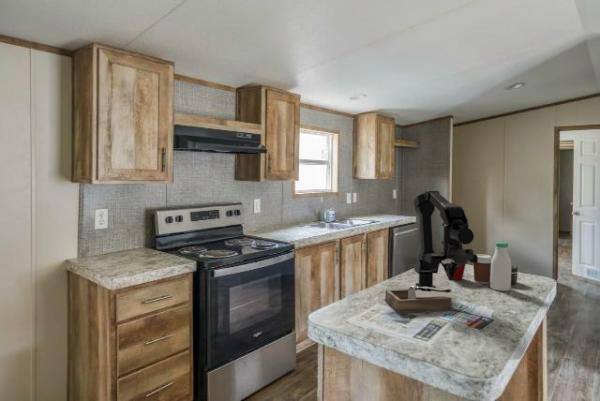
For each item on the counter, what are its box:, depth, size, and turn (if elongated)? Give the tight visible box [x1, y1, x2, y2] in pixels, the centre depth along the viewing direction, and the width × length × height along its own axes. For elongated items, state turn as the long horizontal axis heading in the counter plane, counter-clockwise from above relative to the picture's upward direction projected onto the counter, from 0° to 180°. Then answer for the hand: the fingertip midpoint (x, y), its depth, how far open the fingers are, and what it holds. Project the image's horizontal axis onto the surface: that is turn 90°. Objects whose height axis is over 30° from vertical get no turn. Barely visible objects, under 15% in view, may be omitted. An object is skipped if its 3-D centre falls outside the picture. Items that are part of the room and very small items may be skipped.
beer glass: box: [407, 285, 454, 304], centre depth 139 cm, size 7×7×15 cm
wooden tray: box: [384, 288, 453, 315], centre depth 140 cm, size 14×20×4 cm
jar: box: [511, 264, 519, 286], centre depth 170 cm, size 10×10×8 cm
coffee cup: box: [472, 253, 492, 285], centre depth 170 cm, size 9×9×12 cm
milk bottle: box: [489, 241, 512, 292], centre depth 159 cm, size 8×8×20 cm
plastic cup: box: [452, 263, 467, 281], centre depth 175 cm, size 11×11×12 cm
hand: (450, 280), depth 141 cm, fingers closed
